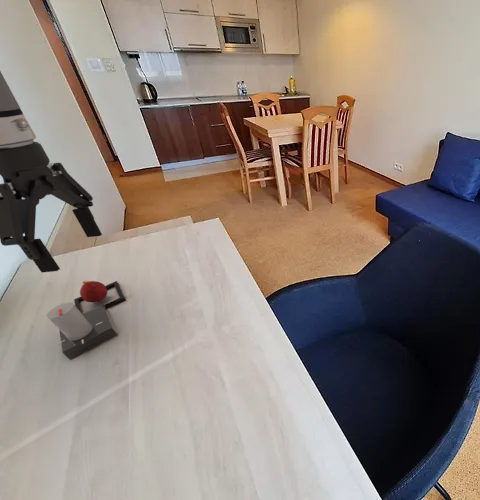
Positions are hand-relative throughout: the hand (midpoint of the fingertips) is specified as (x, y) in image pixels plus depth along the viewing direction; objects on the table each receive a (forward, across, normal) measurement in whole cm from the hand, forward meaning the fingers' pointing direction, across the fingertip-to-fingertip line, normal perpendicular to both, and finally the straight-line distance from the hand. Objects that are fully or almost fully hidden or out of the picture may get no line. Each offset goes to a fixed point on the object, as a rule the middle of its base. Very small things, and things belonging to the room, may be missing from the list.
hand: (75, 251), depth 62 cm
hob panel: (+26, +4, +11) cm, 28 cm away
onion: (+26, +17, +16) cm, 34 cm away
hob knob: (+23, +1, +11) cm, 25 cm away
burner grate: (+26, +17, +16) cm, 34 cm away
